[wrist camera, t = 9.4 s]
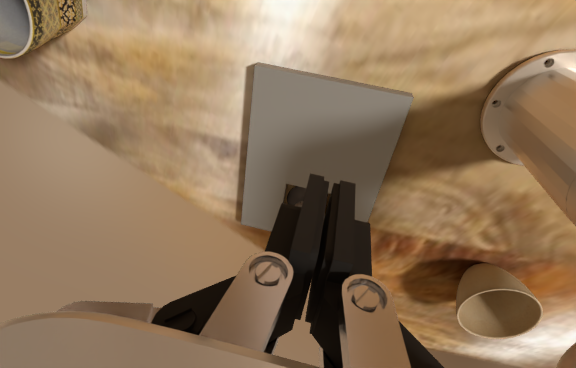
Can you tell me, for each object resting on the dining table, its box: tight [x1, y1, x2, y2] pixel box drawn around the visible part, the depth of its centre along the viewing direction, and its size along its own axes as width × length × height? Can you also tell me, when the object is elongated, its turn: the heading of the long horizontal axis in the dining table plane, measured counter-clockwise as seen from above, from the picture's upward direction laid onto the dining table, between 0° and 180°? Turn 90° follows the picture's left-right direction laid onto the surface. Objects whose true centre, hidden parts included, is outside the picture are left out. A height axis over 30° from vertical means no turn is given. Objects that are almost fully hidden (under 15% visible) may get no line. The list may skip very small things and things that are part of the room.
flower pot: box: [456, 263, 543, 339], centre depth 46 cm, size 10×10×7 cm
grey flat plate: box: [241, 62, 414, 232], centre depth 44 cm, size 18×24×2 cm
